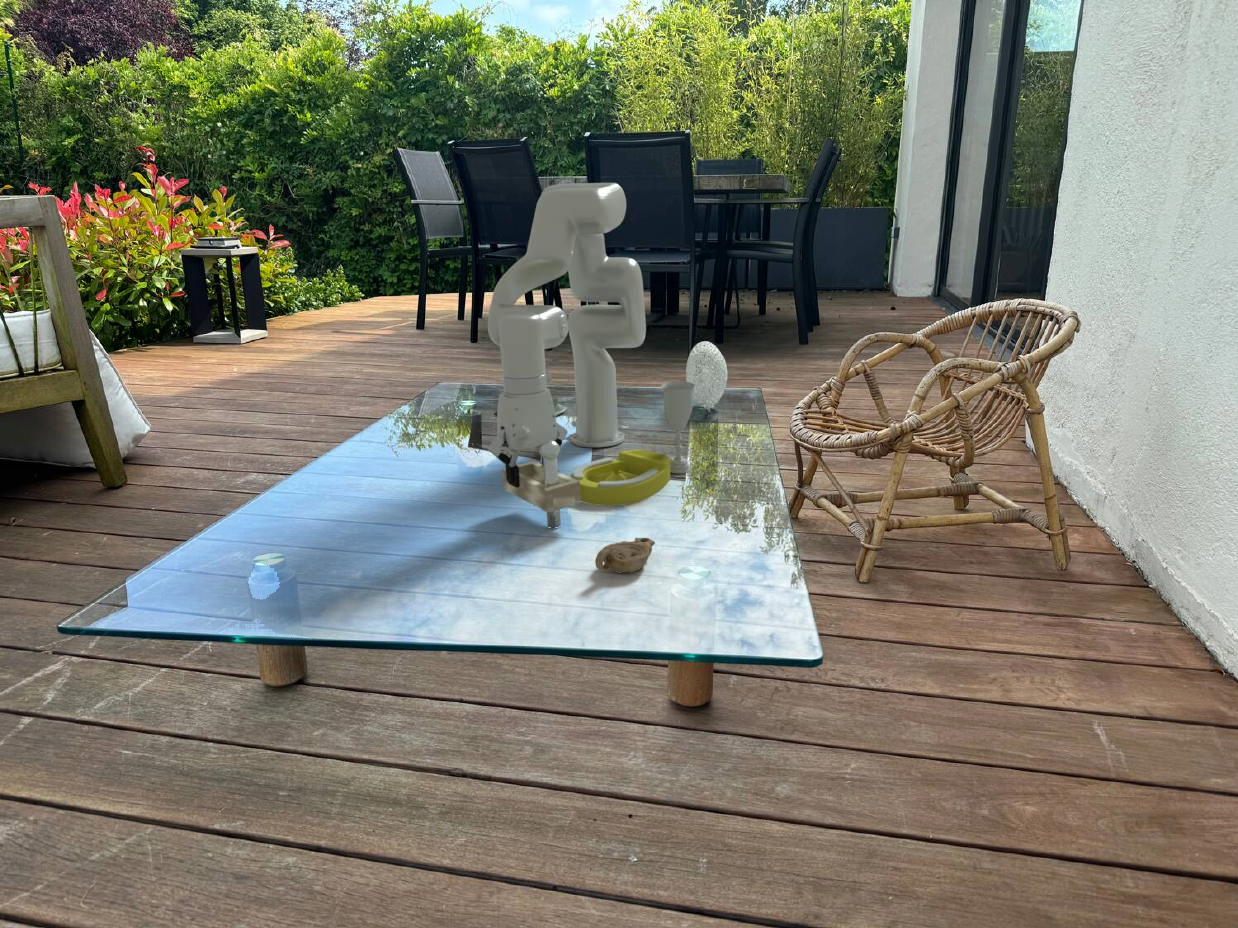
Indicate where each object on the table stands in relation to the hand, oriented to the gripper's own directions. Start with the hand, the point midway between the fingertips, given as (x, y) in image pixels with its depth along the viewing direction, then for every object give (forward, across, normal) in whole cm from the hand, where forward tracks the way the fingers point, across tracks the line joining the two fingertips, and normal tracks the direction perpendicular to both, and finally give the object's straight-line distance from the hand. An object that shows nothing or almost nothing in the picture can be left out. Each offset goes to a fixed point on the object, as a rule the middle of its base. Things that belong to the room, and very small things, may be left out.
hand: (531, 479), depth 154 cm
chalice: (+7, -37, -2) cm, 37 cm away
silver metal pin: (+7, 0, +7) cm, 10 cm away
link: (+2, 0, +3) cm, 4 cm away
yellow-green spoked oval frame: (+8, -21, -1) cm, 22 cm away
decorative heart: (+8, -76, -36) cm, 84 cm away
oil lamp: (+7, +1, +29) cm, 30 cm away
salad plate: (+8, -40, -65) cm, 76 cm away
